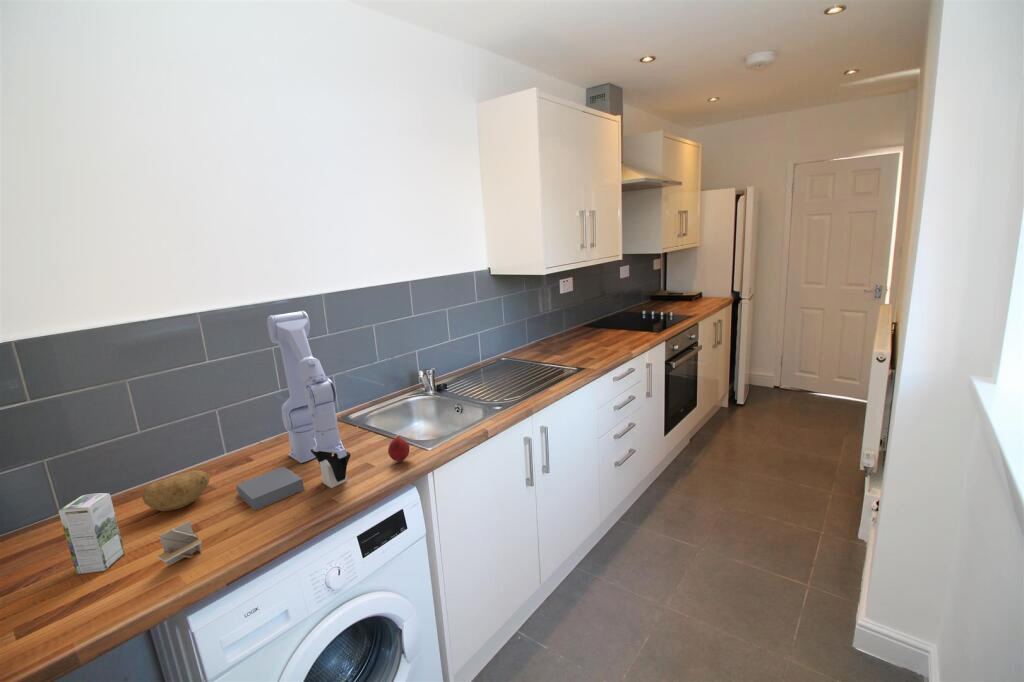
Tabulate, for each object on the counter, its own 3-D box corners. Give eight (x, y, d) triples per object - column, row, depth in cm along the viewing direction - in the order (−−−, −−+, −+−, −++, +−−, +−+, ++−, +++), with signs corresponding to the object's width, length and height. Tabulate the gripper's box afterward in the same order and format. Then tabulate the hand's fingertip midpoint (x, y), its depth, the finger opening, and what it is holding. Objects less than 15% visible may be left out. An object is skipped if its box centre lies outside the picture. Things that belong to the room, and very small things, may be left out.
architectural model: (206, 556, 99) (198, 524, 97) (169, 577, 93) (160, 543, 92) (198, 551, 101) (190, 520, 99) (161, 571, 95) (152, 538, 93)
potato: (219, 499, 121) (212, 470, 120) (152, 525, 112) (144, 494, 110) (207, 487, 128) (201, 460, 126) (143, 511, 118) (135, 482, 116)
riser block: (238, 495, 123) (236, 484, 122) (285, 476, 131) (283, 466, 130) (254, 510, 114) (252, 499, 114) (304, 489, 123) (302, 478, 122)
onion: (405, 467, 131) (402, 440, 129) (386, 466, 132) (382, 440, 130) (414, 457, 136) (410, 431, 135) (395, 457, 137) (391, 431, 136)
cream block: (323, 483, 126) (319, 462, 124) (339, 476, 129) (335, 455, 127) (331, 488, 123) (327, 466, 121) (347, 481, 126) (343, 460, 124)
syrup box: (97, 556, 101) (79, 494, 98) (127, 553, 101) (109, 491, 98) (76, 575, 95) (55, 510, 92) (107, 571, 96) (87, 506, 93)
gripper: (298, 426, 125) (307, 474, 127) (323, 439, 115) (332, 490, 118) (324, 418, 130) (332, 464, 132) (350, 429, 120) (358, 478, 122)
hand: (334, 475), depth 125 cm, fingers open, 7 cm apart
